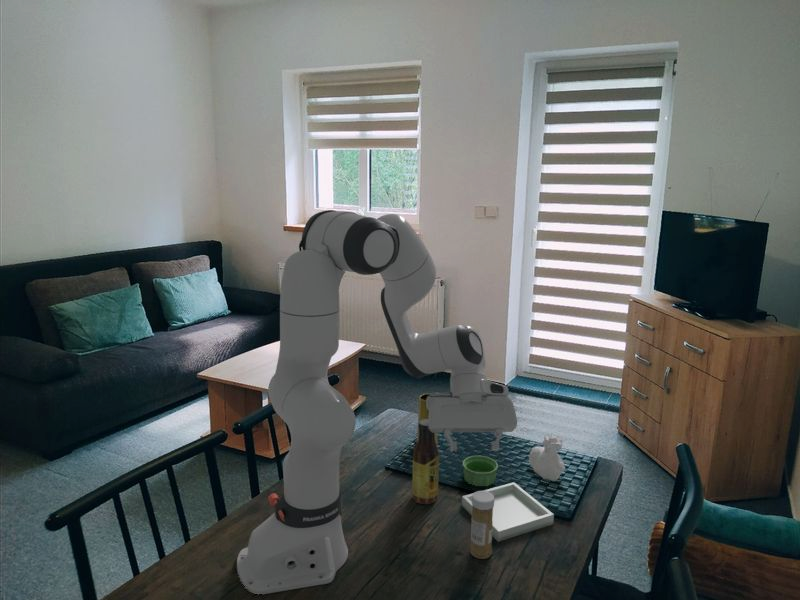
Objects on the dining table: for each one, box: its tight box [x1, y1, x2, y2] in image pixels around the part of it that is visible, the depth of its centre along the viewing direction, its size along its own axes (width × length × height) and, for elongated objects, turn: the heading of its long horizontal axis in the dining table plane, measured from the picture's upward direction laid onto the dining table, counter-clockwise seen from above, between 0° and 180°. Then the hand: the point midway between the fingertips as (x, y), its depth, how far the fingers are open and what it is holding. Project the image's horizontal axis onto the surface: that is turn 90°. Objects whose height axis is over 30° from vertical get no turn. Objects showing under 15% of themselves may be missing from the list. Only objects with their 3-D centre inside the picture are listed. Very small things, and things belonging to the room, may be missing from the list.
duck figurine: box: [528, 434, 566, 482], centre depth 156 cm, size 12×8×11 cm
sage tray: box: [461, 481, 555, 542], centre depth 138 cm, size 15×15×2 cm
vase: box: [416, 393, 439, 445], centre depth 171 cm, size 6×6×14 cm
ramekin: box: [462, 455, 499, 487], centre depth 153 cm, size 9×9×4 cm
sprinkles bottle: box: [469, 490, 494, 560], centre depth 124 cm, size 5×5×13 cm
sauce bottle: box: [411, 419, 440, 505], centre depth 143 cm, size 7×6×20 cm
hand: (474, 450), depth 133 cm, fingers open, 8 cm apart
